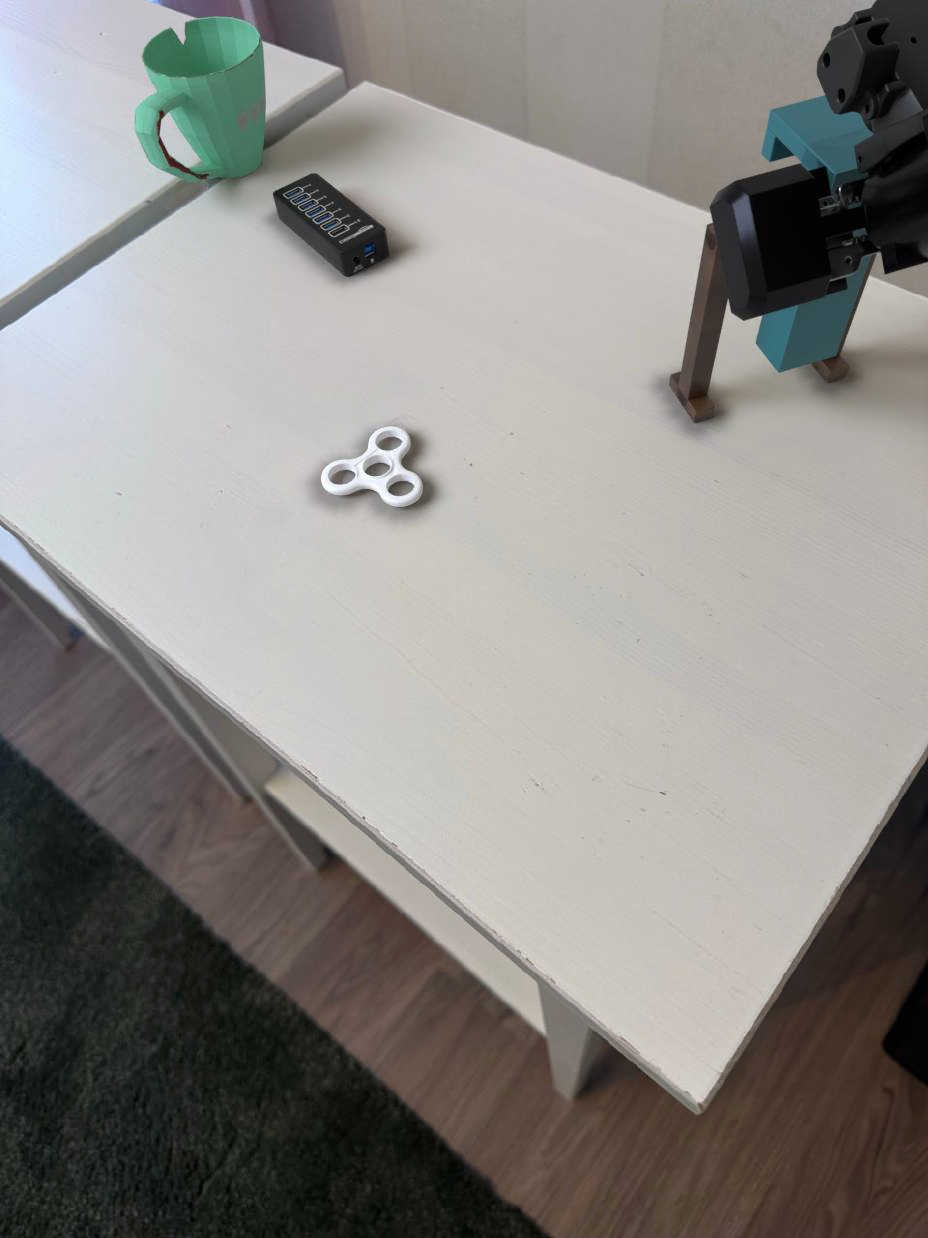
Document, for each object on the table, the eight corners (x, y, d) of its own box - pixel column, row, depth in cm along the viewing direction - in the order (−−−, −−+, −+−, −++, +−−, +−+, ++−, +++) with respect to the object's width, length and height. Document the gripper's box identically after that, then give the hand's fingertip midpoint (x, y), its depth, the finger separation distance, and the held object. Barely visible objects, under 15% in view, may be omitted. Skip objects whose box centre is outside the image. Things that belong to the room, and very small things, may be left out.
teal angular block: (836, 355, 56) (907, 154, 45) (778, 373, 56) (836, 174, 45) (782, 292, 60) (836, 91, 49) (727, 308, 59) (769, 108, 49)
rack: (846, 377, 62) (914, 196, 51) (693, 423, 61) (729, 248, 50) (816, 341, 65) (875, 159, 53) (668, 384, 63) (697, 208, 52)
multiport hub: (320, 195, 78) (314, 170, 76) (391, 254, 73) (387, 228, 71) (276, 216, 77) (270, 191, 75) (346, 277, 72) (341, 252, 70)
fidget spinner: (392, 425, 63) (391, 417, 62) (455, 474, 60) (454, 466, 59) (314, 481, 60) (311, 473, 60) (375, 534, 58) (373, 526, 57)
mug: (218, 125, 85) (183, 9, 77) (308, 142, 83) (282, 23, 74) (131, 215, 79) (82, 99, 70) (226, 236, 76) (187, 118, 68)
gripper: (1193, -106, 36) (931, 58, 51) (773, -3, 34) (629, 137, 49) (1217, 182, 39) (961, 258, 54) (827, 295, 37) (674, 341, 52)
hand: (810, 245), depth 52 cm, fingers closed on teal angular block, 4 cm apart
